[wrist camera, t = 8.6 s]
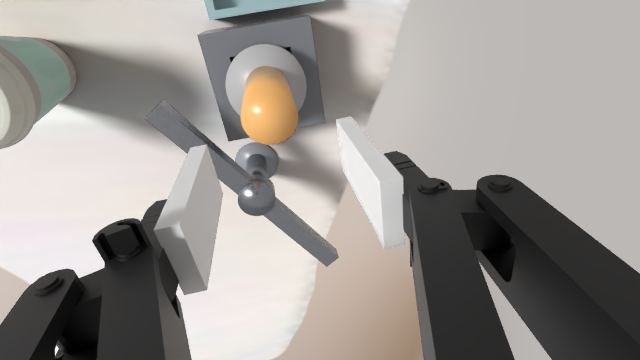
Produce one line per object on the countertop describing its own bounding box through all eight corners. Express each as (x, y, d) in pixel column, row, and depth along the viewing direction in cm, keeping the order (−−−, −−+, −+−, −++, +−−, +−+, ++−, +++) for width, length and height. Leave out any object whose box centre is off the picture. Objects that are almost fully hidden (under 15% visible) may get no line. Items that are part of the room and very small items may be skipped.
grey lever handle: (162, 100, 36) (136, 126, 28) (185, 76, 35) (165, 97, 27) (310, 228, 46) (321, 272, 39) (330, 211, 46) (345, 254, 38)
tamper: (222, 43, 34) (199, 71, 21) (294, 33, 34) (316, 53, 21) (239, 113, 37) (229, 175, 24) (304, 102, 38) (328, 157, 25)
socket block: (196, 32, 34) (188, 36, 29) (303, 14, 35) (310, 16, 30) (241, 183, 42) (239, 204, 38) (325, 166, 43) (333, 185, 39)
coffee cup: (58, 9, 31) (-43, 12, 20) (109, 99, 35) (47, 139, 25) (-34, 36, 31) (-183, 53, 20) (29, 123, 35) (-69, 174, 24)
